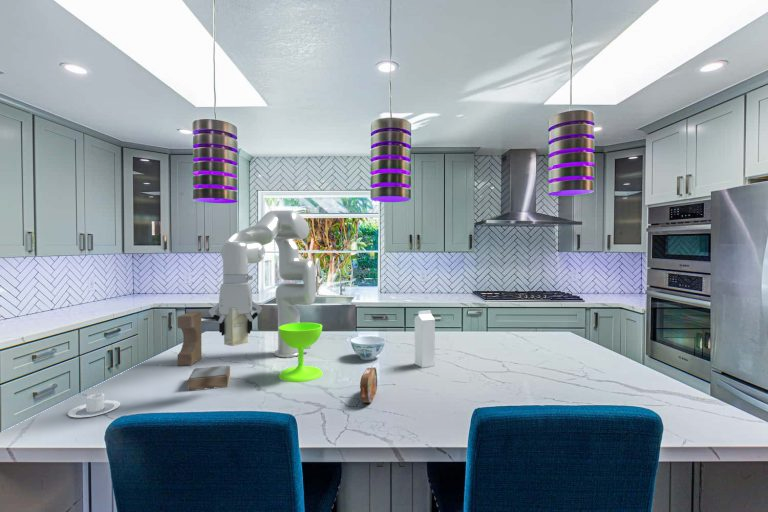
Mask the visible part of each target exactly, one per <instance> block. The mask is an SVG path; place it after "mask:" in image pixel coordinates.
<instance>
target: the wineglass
mask: <svg viewBox="0 0 768 512" xmlns="http://www.w3.org/2000/svg"><path fill="white" fill-rule="evenodd" d="M322 331H323V325H322V324H321V323H316V322H300V323H291V324H285V325H282V326H280V327H279V334H280V336H281V338H282V340H283V341H284V342H285V343H286V344H287V345H289V346H290V347H293V348H297V349H298V356H297V358H298V360H297V364H298V365H297V366H292V367H289V368H285V369H284V370H282V371H281V372H280V373H279V375H278V379H279V378H280V380H281V379H282V380H281V381H283V380H284V382H287V381H290V382H289V383H304V381H305V382H310V381H309V380H311V381H314V379H315V380H316V379H319V378H321V377H322V376H323V371H322V370H321V368H319V367H316V366H310V365H307V366H306V365H305V364H304V349H303V348H306V347H309V346H310V347H312V345H314V344H315V343H316V342H317V341H318V340H319V339H320V338H321V335H322Z"/></svg>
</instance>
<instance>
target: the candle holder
mask: <svg viewBox="0 0 768 512" xmlns="http://www.w3.org/2000/svg"><path fill="white" fill-rule="evenodd" d="M105 405H112V408H110V409H108V410H105V411H103V412H100V411H102V410H103V409H104V408H105ZM120 406H121V402H120V401H118V400H114V399H113V400H112V399H111V400H110V399H109V400H107V399H106V400H105V394H104V393H102V392H101V393H93V394H90V395H89V394H88V395H87V396H86V398H85V403H83V404H81V405H78V406H76V407H74V408H72V409H71V410H69V411H68V413H67V415H68V417H71V418H76V419H77V418H78V419H79V418H90V417H96V416H99V415H103V414H106V413H109V412H112V411H113V410H116V409H117V408H119V407H120ZM83 409H85V410H86V413H96V412H99V413H96V414H90V415H89V414H88V415H78V414H77V412H79V411H81V410H83Z"/></svg>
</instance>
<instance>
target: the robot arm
mask: <svg viewBox="0 0 768 512" xmlns="http://www.w3.org/2000/svg"><path fill="white" fill-rule="evenodd" d="M309 234H310V225H309V223H308V221H307V220H306V218H305V219H304V217H303V216H301V214H299V213H298V212H296V211H294V210H272V211H271V210H270V211H268V212H266V213H265V214H264V215H263V216H262V217H261V218H260V220H258V221H257V222H256V223H255V224H254V225H252V226H249V227H246V228H244V229H242V230H240V231H237V232H235V233H233V234H232V235H230V236H229V237H228V238H227V239H226V240H225V241H224V242H223V244H222V245H221V249H220V256H221V258H222V282H223V283H220V288H219V296H218V297H219V298H218V303H217V304H215V305H214V306H212V307H211V308H210V309H209V310H208V313H209V314H210V316H211V317H212V318H213V319H215V321H216V322H217V323H219V325H218V326H219V327H218V328H219V329H218V331H219V333H221V336H223V337H224V318H225V316H226V315H228V312H229V308H237V309H238V313H239V314H246V316H247V318H248V335H249V334H251V331H253V321H254V320H255V319H256V318H257V317H258V316H259V314H260V313H261V312H262V310H263V307H262V306H261V305H259V304H257V303H256V302H254V301H253V291H252V284H251V283H250V281H252V280H253V275H249V274H248V273H249V266H248V265H249V264H257V263H260V262H261V261H263V260H264V258H265V256H266V255H265V254H266V250H265V247H264V246H265V245H267V244H270V243H271V242H273V240H274V241H275V243H276V245H277V247H278V272H279V273H278V274H279V277H280V279H282V280H284V281H302V282H303V283H292V282H291V283H289V282H286V283H282V284H280V285H278V286H277V287H276V289H275V299H276V306H277V349H276V350H275V351H274V356H276V357H278V358H294V357H298V349H297V348H293V347H290V346H289V345H287V344H286V343H285V342H284V341H283V340H282V338H281V336H280V334H279V327H280V326H282V325H285V324H291V323H301V321H300V320H301V317H300V316H301V315H300V311H299V309H298V308H297V306H310V305H313V304H314V303H315V300H316V295H317V294H316V282H317V281H316V280H317V279H316V278H317V277H316V272H317V271H316V266H315V262H313V260H311V259H309V258H307V259H305V258H300V255H299V251H300V250H299V246H298V243H296V241H295V240H305V239H307V238H308V236H309ZM253 308H254V309H256V310H255V311H254V312H253V314H251V313H252V311H253ZM216 310H218V313H219V314H220V315H219V314H217V313H216ZM310 349H311V346H309V347H306V348H303V350H310Z"/></svg>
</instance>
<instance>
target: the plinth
mask: <svg viewBox="0 0 768 512" xmlns="http://www.w3.org/2000/svg"><path fill="white" fill-rule="evenodd" d="M229 377H230V378H231V365H219V366H209V367H208V366H207V367H195V368H194V369H193V370H192V372H191V374H190V376H189V377H188V379H187V391H188V390H191V391H197V390H196V389H201V390H206V389H205V388H210V389H215V388H214V387H220V388H227V387H229V386H228V385H229V383H230V382H229V381H230V378H229ZM226 386H227V387H226Z"/></svg>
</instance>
